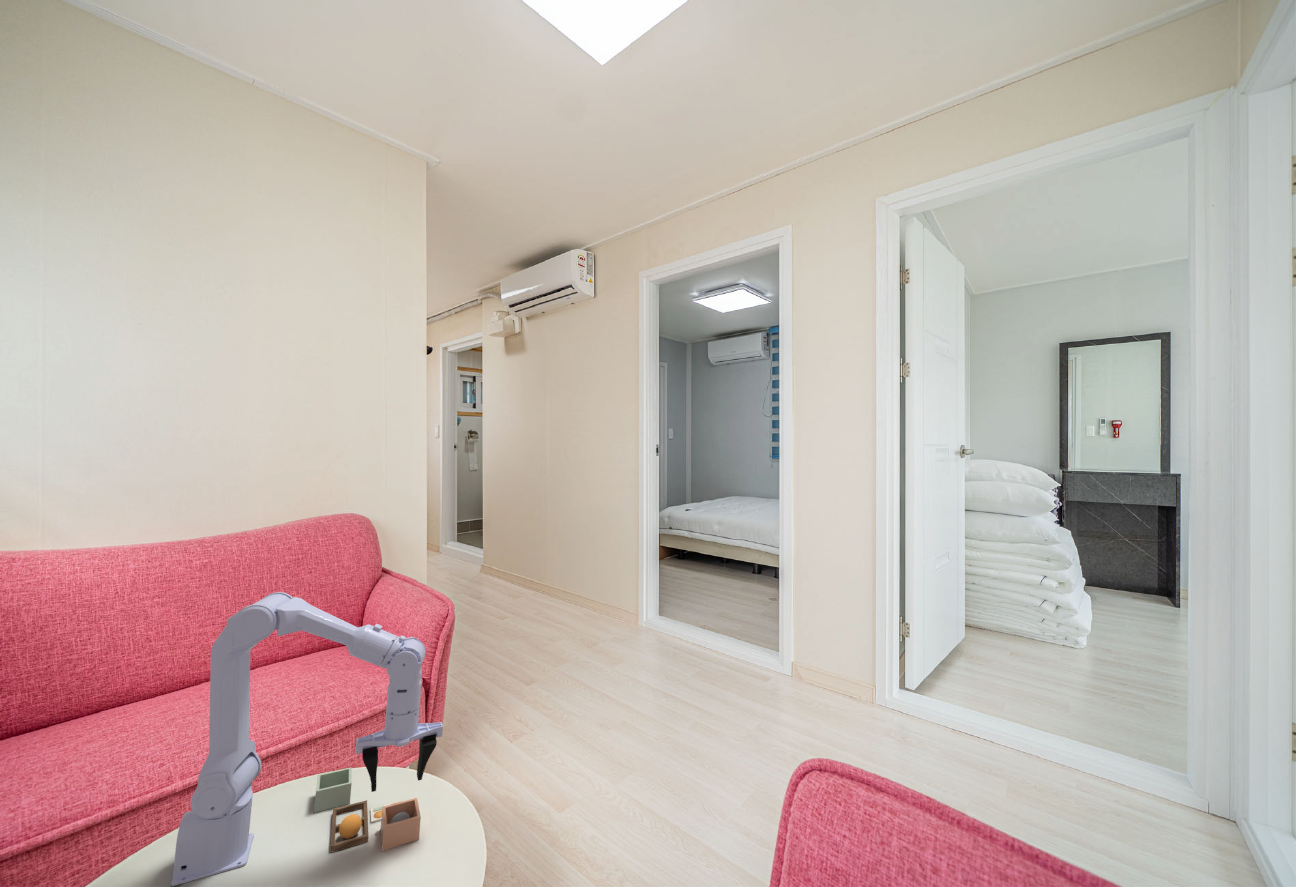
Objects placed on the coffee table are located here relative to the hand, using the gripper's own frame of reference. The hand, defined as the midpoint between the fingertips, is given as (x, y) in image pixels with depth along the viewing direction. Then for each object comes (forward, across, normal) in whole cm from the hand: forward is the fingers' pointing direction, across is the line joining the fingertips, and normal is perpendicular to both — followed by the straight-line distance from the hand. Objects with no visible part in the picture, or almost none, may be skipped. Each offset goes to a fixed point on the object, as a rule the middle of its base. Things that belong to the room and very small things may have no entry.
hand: (396, 782), depth 93 cm
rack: (+9, -7, +6) cm, 13 cm away
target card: (+9, 0, +7) cm, 12 cm away
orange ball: (+8, -7, +3) cm, 11 cm away
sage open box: (+9, -10, +16) cm, 21 cm away
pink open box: (+9, +1, 0) cm, 9 cm away
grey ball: (+8, +1, 0) cm, 8 cm away
